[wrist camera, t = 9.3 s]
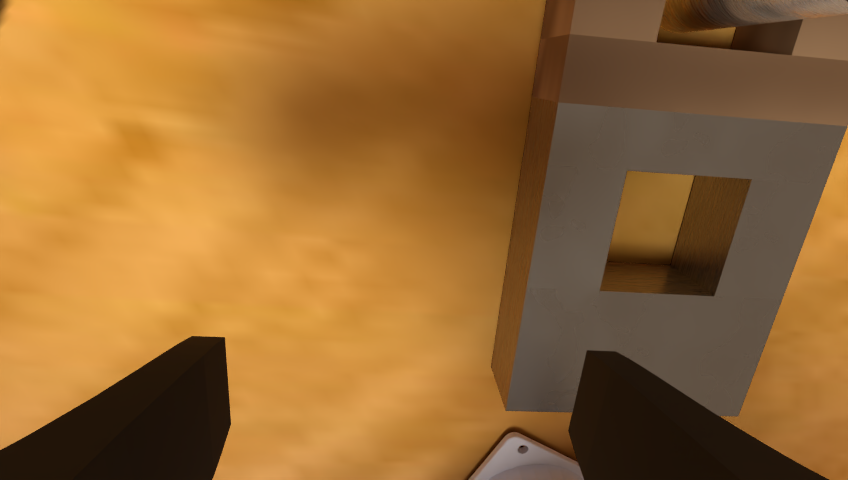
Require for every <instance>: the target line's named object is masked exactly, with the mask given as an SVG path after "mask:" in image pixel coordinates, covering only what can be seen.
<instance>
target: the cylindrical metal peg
mask: <svg viewBox="0 0 848 480" xmlns="http://www.w3.org/2000/svg"><path fill="white" fill-rule="evenodd" d="M843 14H848V0H666V2H665V6H664V10H663V15H662V19H661V24H660V27H662V28H663V29H665V30H667V31H670V32H674V33H687V32H695V31H704V30H713V29H721V28H730V27H739V26H748V25H756V24H765V23H774V22H782V21H791V20H800V19H809V18H817V17H826V16H835V15H843Z"/></svg>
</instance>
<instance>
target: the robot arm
mask: <svg viewBox="0 0 848 480" xmlns="http://www.w3.org/2000/svg"><path fill="white" fill-rule="evenodd" d="M230 425H231V418H230V404H229V390H228V376H227V362H226V348H225V337H200V336H192V337H190V338H188V339H186V340H184V341H182V342H181V343H179V344H177V345H176V346H174V347H172V348H171V349H169V350H168V351H166V352H164V353H163V354H161V355H160V356H158V357H157V358H155V359H154V360H152V361H150V362H149V363H147V364H146V365H144V366H143V367H141V368H139V369H138V370H136V371H135V372H133V373H132V374H130V375H128V376H127V377H125V378H124V379H122V380H120V381H119V382H117V383H116V384H114V385H112V386H111V387H109V388H108V389H106V390H104V391H103V392H101V393H100V394H98V395H96V396H95V397H93V398H92V399H90V400H88V401H86V402H85V403H83V404H81V405H80V406H78V407H76V408H74V409H73V410H71V411H69V412H67V413H66V414H64V415H62V416H61V417H59V418H57V419H55V420H54V421H52V422H50V423H49V424H47V425H45V426H43V427H42V428H40V429H38V430H36V431H35V432H33V433H31V434H30V435H28V436H26V437H24V438H22V439H21V440H19V441H17V442H15V443H13V444H11V445H9V446H8V447H6V448H4V449H2V450H0V480H212V478H213V476H214V474H215V471H216V468H217V465H218V462H219V459H220V456H221V453H222V450H223V447H224V444H225V441H226V438H227V435H228V431H229V428H230ZM568 431H569V434H570V438H571V441H572V444H573V448H574V451H575V454H576V458H577V460H578V462H577V461H575V460H573V459H571V458H569V457H566V456H564V455H562V454H560V453H558V452H556V451H554V450H552V449H550V448H548V447H546V446H544V445H542V444H540V443H538V442H536V441H534V440H532V439H530V438H528V437H526V436H524V435H522V434H520V433H517V432H511V433H509V434H507V435H506V436H505V437H504V438H503V439H502V440H501V442H500V443H499V444H498V445H497V446H496V447H495V449H494V450H493V451H492V452H491V453H490V455H489V456H488V457H487V458H486V459H485V461H484V462H483V463H482V464H481V465H480V467H479V468H478V469H477V470H476V471H475V473H474V474H473V475H472V476H471V477H470V479H469V480H829V479H827V478H825V477H823V476H821V475H819V474H817V473H815V472H813V471H811V470H810V469H808V468H806V467H804V466H802V465H801V464H799V463H797V462H795V461H793V460H792V459H790V458H788V457H786V456H784V455H783V454H781V453H779V452H778V451H776V450H774V449H772V448H771V447H769V446H767V445H766V444H764V443H762V442H761V441H759V440H757V439H756V438H754V437H752V436H750V435H749V434H747V433H745V432H744V431H742V430H740V429H739V428H737V427H736V426H734V425H732V424H731V423H729V422H728V421H726V420H724V419H723V418H721V417H720V416H718V415H716V414H715V413H713V412H712V411H710V410H708V409H707V408H705V407H704V406H702V405H701V404H699V403H698V402H696V401H694V400H693V399H691V398H690V397H688V396H687V395H685V394H684V393H682V392H681V391H679V390H678V389H676V388H675V387H673V386H671V385H670V384H668V383H667V382H665V381H664V380H662V379H661V378H659V377H658V376H656V375H655V374H653V373H651V372H650V371H648V370H647V369H645V368H644V367H642V366H640V365H639V364H637V363H636V362H634V361H632V360H631V359H629V358H627V357H625V356H623V355H622V354H620V353H618V352H616V351H594V350H587V352H586V356H585V360H584V365H583V369H582V373H581V378H580V382H579V386H578V391H577V395H576V399H575V404H574V408H573V413H572V417H571V421H570V426H569V430H568ZM522 445H525V446H524V447H521V448H519V447H520V446H522Z"/></svg>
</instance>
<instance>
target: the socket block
mask: <svg viewBox="0 0 848 480" xmlns="http://www.w3.org/2000/svg"><path fill="white" fill-rule="evenodd" d="M846 129H847V126H838V125H826V124H814V123H802V122H789V121H777V120H765V119H753V118H741V117H729V116H717V115H704V114H692V113H680V112H668V111H656V110H644V109H632V108H619V107H607V106H595V105H583V104H571V103H559V102H554V101H549V100H545V99H540V98H535V97H532V102H531V108H530V115H529V121H528V128H527V134H526V141H525V148H524V154H523V161H522V167H521V174H520V180H519V187H518V193H517V200H516V207H515V213H514V220H513V226H512V233H511V239H510V246H509V253H508V259H507V266H506V272H505V279H504V285H503V292H502V298H501V305H500V312H499V318H498V325H497V331H496V338H495V344H494V351H493V358H492V364H491V368H492V371H493V374H494V377H495V380H496V383H497V386H498V389H499V392H500V395H501V398H502V401H503V404H504V407H505V410H506V411H535V412H573V408H574V404H575V399H576V395H577V391H578V386H579V382H580V378H581V373H582V369H583V365H584V360H585V356H586V352H587V350H594V351H616V352H618V353H620V354H622V355H623V356H625V357H627V358H629V359H631V360H632V361H634V362H636V363H637V364H639V365H640V366H642V367H644V368H645V369H647V370H648V371H650V372H651V373H653V374H655V375H656V376H658V377H659V378H661V379H662V380H664V381H665V382H667V383H668V384H670V385H671V386H673V387H675V388H676V389H678V390H679V391H681V392H682V393H684V394H685V395H687V396H688V397H690V398H691V399H693V400H694V401H696V402H698V403H699V404H701V405H702V406H704V407H705V408H707V409H708V410H710V411H712V412H713V413H715V414H716V415H718V416H738V415H739V413H740V410H741V407H742V405H743V402H744V399H745V397H746V394H747V391H748V389H749V386H750V383H751V381H752V378H753V375H754V373H755V370H756V368H757V365H758V362H759V360H760V357H761V354H762V352H763V349H764V346H765V344H766V341H767V338H768V336H769V333H770V330H771V328H772V325H773V322H774V320H775V317H776V314H777V312H778V309H779V306H780V304H781V301H782V298H783V296H784V293H785V291H786V288H787V285H788V283H789V280H790V277H791V275H792V272H793V269H794V267H795V264H796V261H797V259H798V256H799V253H800V251H801V248H802V245H803V243H804V240H805V237H806V235H807V232H808V229H809V227H810V224H811V221H812V219H813V216H814V214H815V211H816V208H817V206H818V203H819V200H820V198H821V195H822V192H823V190H824V187H825V184H826V182H827V179H828V176H829V174H830V171H831V168H832V166H833V163H834V160H835V158H836V155H837V152H838V150H839V147H840V145H841V142H842V139H843V137H844V134H845V131H846ZM627 171H641V172H655V173H669V174H684V175H696V176H695V179H694V183H693V187H692V190H691V194H690V197H689V201H688V204H687V208H686V212H685V215H684V219H683V222H682V226H681V229H680V233H679V237H678V240H677V244H676V247H675V251H674V254H673V258H672V262H671V265H660V264H641V263H622V262H606V261H607V256H608V252H609V247H610V243H611V239H612V234H613V230H614V226H615V221H616V217H617V213H618V208H619V204H620V200H621V195H622V191H623V186H624V182H625V178H626V173H627Z"/></svg>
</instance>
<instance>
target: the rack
mask: <svg viewBox="0 0 848 480" xmlns="http://www.w3.org/2000/svg"><path fill="white" fill-rule="evenodd" d="M665 2H666V0H547V1H546V8H545V14H544V21H543V27H542V34H541V41H540V47H539V54H538V60H537V67H536V73H535V80H534V87H533V93H532V97H535V98H540V99H545V100H549V101H554V102H559V103H571V104H583V105H595V106H607V107H619V108H632V109H644V110H656V111H668V112H680V113H692V114H704V115H717V116H729V117H741V118H753V119H765V120H777V121H789V122H802V123H814V124H826V125H838V126H847V125H848V14H843V15H835V16H826V17H817V18H809V19H800V20H791V21H782V22H774V23H765V24H756V25H748V26H739V27H737V28H736V32H735V35H734V39H733V43H732V46H731V49H721V48H710V47H700V46H689V45H679V44H668V43H658V42H656V41H657V37H658V32H659V28H660V24H661V19H662V15H663V10H664V6H665Z"/></svg>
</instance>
